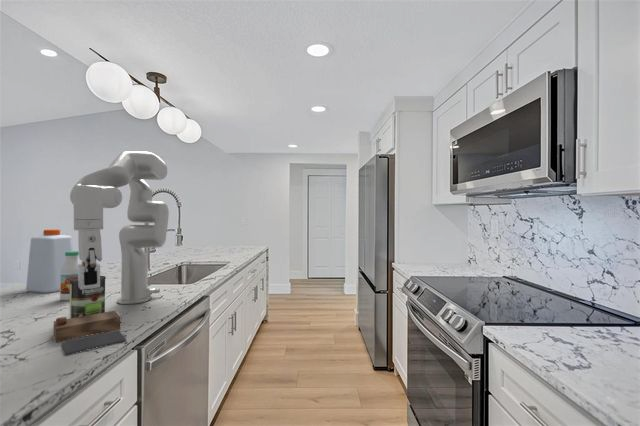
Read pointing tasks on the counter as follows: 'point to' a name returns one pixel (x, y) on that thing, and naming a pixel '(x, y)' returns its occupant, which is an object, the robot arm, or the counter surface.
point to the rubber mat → (92, 342)
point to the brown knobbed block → (85, 325)
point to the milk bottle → (68, 273)
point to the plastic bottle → (47, 261)
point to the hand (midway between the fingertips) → (89, 282)
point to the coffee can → (86, 299)
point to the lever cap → (81, 277)
